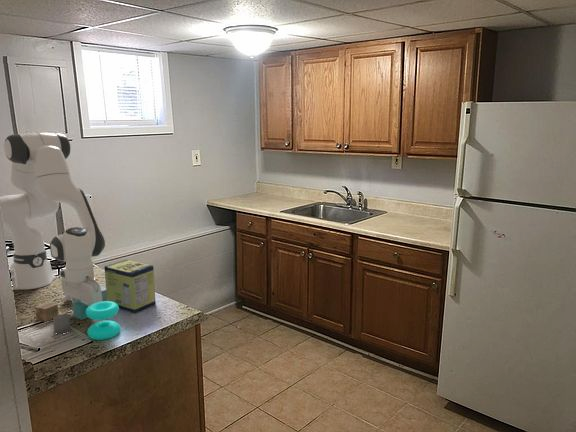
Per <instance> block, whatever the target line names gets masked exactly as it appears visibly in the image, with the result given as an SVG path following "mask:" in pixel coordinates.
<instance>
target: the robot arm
mask: <svg viewBox="0 0 576 432" xmlns="http://www.w3.org/2000/svg"><path fill="white" fill-rule="evenodd" d="M3 145H4V147H3V150H4V153H5V156H6V158H7V159H8V160H9V161H10V162H11V173H10V175H11V176H10V181H11V183H12V185H13V186H14V187H15V188H16V189H17V190H20V191H23V192H24V193H18V194H16V193H15V194H8V195H7V194H6V195H3V196H0V206H1V212H2V218H3V223H4V225H3V226H4V227H5V228H6V229H7V230H8V232H9V233H10V235H11V237H12V242H13V249H14V252H13V256H12V257H13V260H12V264H10V266H9V267H10V273H11V279H12V285H13V290H12V291H14V290H16V291H17V290H32V289H39V288H42V287H43V288H44V287H45V286H49V285H50V284H52V283H53V281H54V280H55V279H57V278H56V275H53V270H52V266H51V261H50V260H48V259H47V258H48V255H47V250H46V249H45V241H44V240H45V239H44V234H43V232H42V231H41V230H40V229H38V228H35V227H33V226H28V224H27V222H28V221H29V220H36V219H37V220H39V219H44V218H48V217H52V216H53V215H56V214H57V212H58V210H59V206H60V204H64V205H68V206H70V207H72V208H73V209H74V210H75V211H76V212H77V216H78V217H79V221H80V223H81V226H82V227H79V226H77V227H76V226H75V227H70V228H68V229H66V230H64V233H62V234H59V235H56V236H54V237H53V238H52V239H51V241H50V242H49V250H50V252H49V253H50V256H51V258H53V259H54V260H56V261H57V262H65V263H66V264H65V269H62V270H61V269H60V271H59V276H60V277H61V278H60V279H61V280H60V281H61V289H62V292H63V294H64V295H65V294H66V295H68V296H71V300H72V301H71V302H72V304H73V303H76V302H79V301H83V302H85V303H87V305H88V307H89V306H90V305H92V304H94V303H97V302H102V293H101V288H100V287H101V285H100V283H99V282H97V279H95V268H94V262H93V259H92V257H98V256H99V255H101V253H102V252H103V251H104V249H105V247H106V241H105V238H104V235H103V233H102V232H101V230H100V228H99V226H98V224H97V221H96V219H95V216H94V214H93V213H94V212H93V211H92V208H91V205H90V203H89V201H88V199H87V197H86V194H85V193H84V191H83V189H82V188H79V187H77V185H76V184H75V183H74V182H73V180H72V177H71V173H70V169H69V165H68V163H67V159H68V158H69V156H70V155H71V144H70V140H69V138H68V137H67V136H66V135H65V134H62V133H59V132H58V133H56V132H53V133H52V132H33V133H32V132H31V133H29V132H28V133H21V134H20V133H14V134H10V135H8V136H6V138H5V139H4V144H3ZM59 203H60V204H59Z"/></svg>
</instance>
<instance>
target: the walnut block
mask: <svg viewBox="0 0 576 432" xmlns="http://www.w3.org/2000/svg"><path fill="white" fill-rule="evenodd" d="M34 309H35V320H36V321H39V322H42V321H44V322H43V323H45V322H46V323H48V322H47V321H49V322H51V321H53V320H52V319H53V318H54V317H55V316H57V315H59V307H58V304H57V303H54V302H49V301H47V302H44V303H41V304H39V305H36V306H34ZM50 320H51V321H50Z"/></svg>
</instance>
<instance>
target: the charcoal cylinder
mask: <svg viewBox="0 0 576 432" xmlns="http://www.w3.org/2000/svg"><path fill="white" fill-rule="evenodd" d="M52 322H53V331H54V332H55V333H57V334H62V335H64V334H63V333H66V334H68V333H67V332H69V331H70V332H71V331H72V327H71V325H72V324H71V316H70V314H68V313H67V314H66V313H62V314H58V315H57V316H55V317H54V318H53V320H52ZM54 332H53V333H54ZM70 332H69V333H70ZM55 333H54V334H55ZM57 334H56V335H57Z"/></svg>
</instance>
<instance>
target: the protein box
mask: <svg viewBox="0 0 576 432" xmlns="http://www.w3.org/2000/svg"><path fill="white" fill-rule="evenodd" d="M104 276H105V277H104V278H105V279H104V280H105V288H106V293H107V301H111V302H114V303H116V304H117V305H118V306H119V310H122V311H125V312H128V313H132V314H137V313H139V312H141V311H143V310H145V309H148V308H150V307H152V306H155V305H156V304H157V302H156V289H155V287H156V286H155V272H154V265H152V264H146V263H141V262H138V261H133V260H130V259H124V260H121V261H119V262H118V261H117V262H115V263H112V264H108V265H104Z"/></svg>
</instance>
